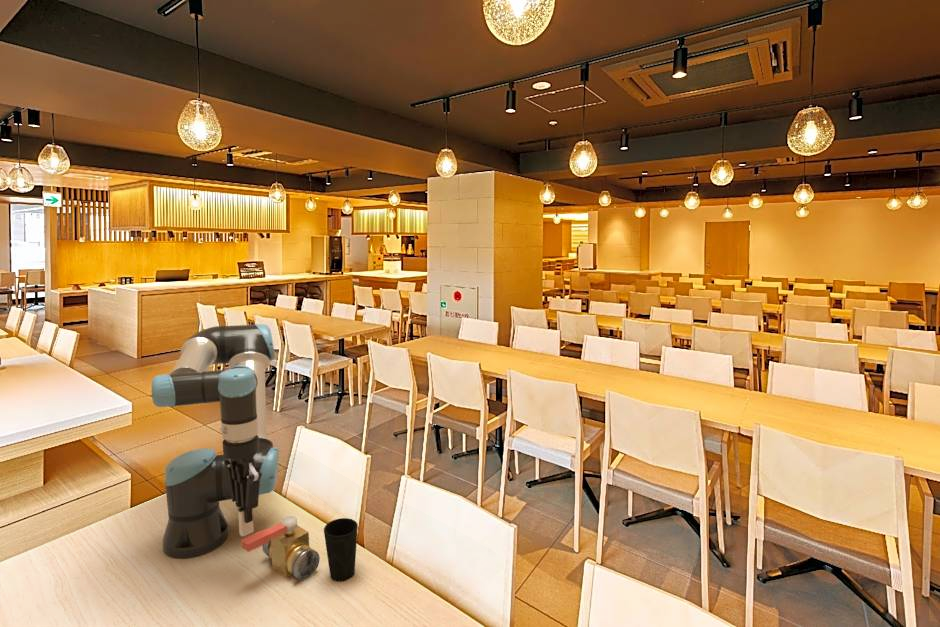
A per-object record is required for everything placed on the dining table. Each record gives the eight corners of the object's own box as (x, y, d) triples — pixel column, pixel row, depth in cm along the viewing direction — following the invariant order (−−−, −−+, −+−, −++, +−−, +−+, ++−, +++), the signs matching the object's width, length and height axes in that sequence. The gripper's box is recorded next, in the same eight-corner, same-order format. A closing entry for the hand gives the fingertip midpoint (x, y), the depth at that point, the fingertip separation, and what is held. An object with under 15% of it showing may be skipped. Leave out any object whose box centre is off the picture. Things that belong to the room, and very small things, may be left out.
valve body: (263, 560, 126) (261, 523, 124) (287, 547, 131) (285, 512, 129) (295, 585, 117) (293, 545, 116) (320, 570, 122) (318, 532, 121)
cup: (350, 587, 117) (349, 538, 115) (319, 582, 118) (317, 534, 116) (364, 565, 124) (362, 520, 122) (334, 561, 126) (333, 516, 124)
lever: (291, 522, 125) (291, 514, 125) (300, 527, 123) (300, 519, 122) (240, 546, 115) (240, 538, 115) (249, 552, 113) (248, 544, 113)
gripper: (210, 434, 118) (217, 529, 121) (238, 449, 110) (245, 551, 113) (242, 425, 123) (248, 516, 127) (271, 439, 115) (276, 536, 119)
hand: (246, 532), depth 120 cm, fingers closed
